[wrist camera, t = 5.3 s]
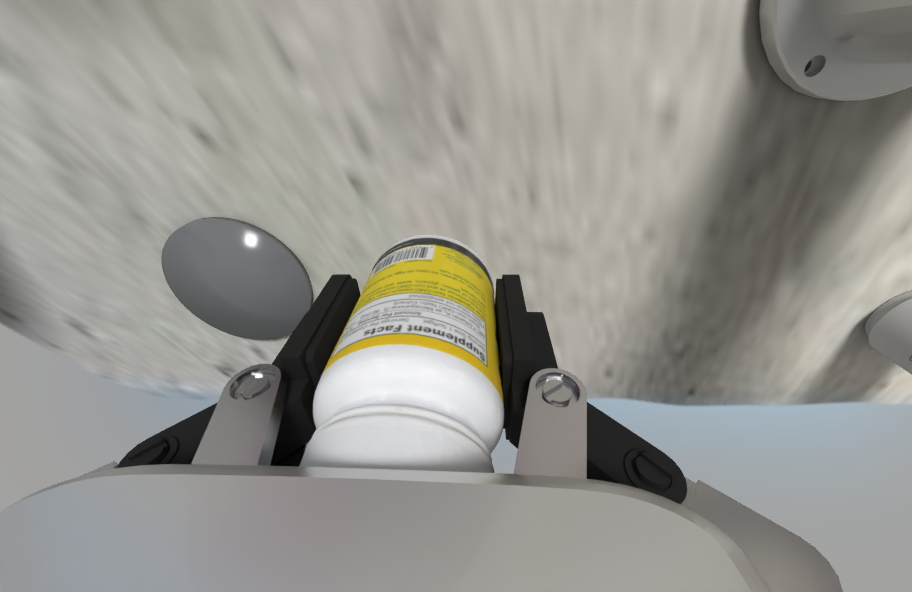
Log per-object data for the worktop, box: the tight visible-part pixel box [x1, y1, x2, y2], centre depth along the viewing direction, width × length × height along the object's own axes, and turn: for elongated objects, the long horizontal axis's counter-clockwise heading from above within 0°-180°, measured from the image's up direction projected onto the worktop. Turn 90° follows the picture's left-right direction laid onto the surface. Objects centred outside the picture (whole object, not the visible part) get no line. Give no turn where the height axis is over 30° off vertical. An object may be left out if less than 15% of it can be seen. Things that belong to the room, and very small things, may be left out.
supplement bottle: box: [299, 235, 504, 473], centre depth 10 cm, size 5×5×8 cm
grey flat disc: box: [162, 217, 313, 340], centre depth 24 cm, size 10×10×1 cm
